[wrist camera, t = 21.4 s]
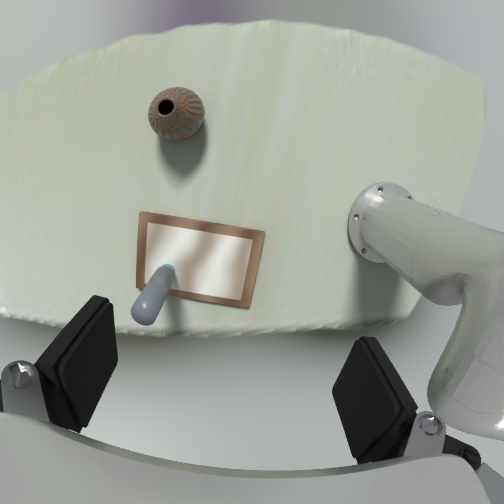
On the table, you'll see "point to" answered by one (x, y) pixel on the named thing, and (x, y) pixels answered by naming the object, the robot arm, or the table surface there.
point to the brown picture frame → (200, 257)
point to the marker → (153, 295)
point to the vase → (176, 113)
